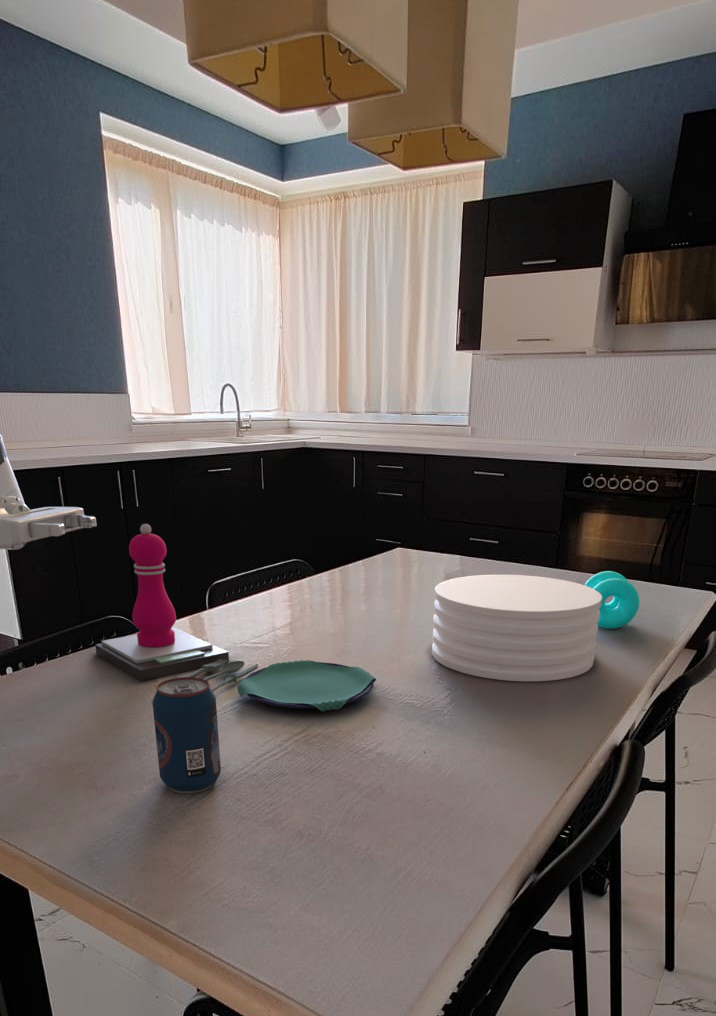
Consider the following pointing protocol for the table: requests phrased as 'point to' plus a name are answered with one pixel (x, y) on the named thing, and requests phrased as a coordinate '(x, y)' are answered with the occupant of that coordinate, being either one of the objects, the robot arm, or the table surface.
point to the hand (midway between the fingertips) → (78, 526)
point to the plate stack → (515, 627)
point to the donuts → (615, 599)
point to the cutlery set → (297, 683)
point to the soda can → (187, 734)
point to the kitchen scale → (159, 655)
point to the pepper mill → (151, 591)
